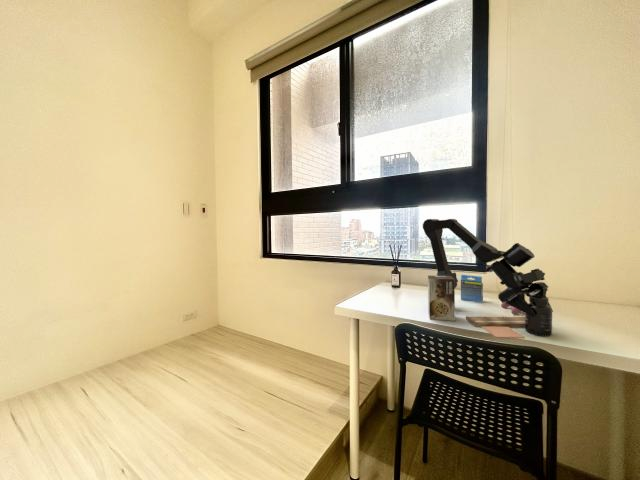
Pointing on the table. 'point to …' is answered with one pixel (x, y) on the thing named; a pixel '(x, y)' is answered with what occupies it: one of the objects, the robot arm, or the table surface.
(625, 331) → the table surface
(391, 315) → the table surface
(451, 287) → the coffee box
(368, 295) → the table surface
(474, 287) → the label tape box
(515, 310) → the video game controller
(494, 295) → the table surface
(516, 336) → the end pad
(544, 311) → the supplement bottle
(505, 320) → the walnut board
